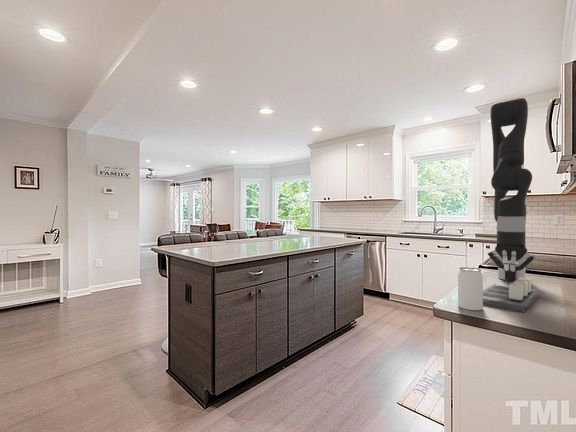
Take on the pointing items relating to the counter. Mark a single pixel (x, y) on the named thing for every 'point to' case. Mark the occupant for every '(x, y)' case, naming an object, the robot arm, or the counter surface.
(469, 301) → the can
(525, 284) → the block
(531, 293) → the panel
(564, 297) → the counter surface
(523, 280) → the block
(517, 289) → the block
